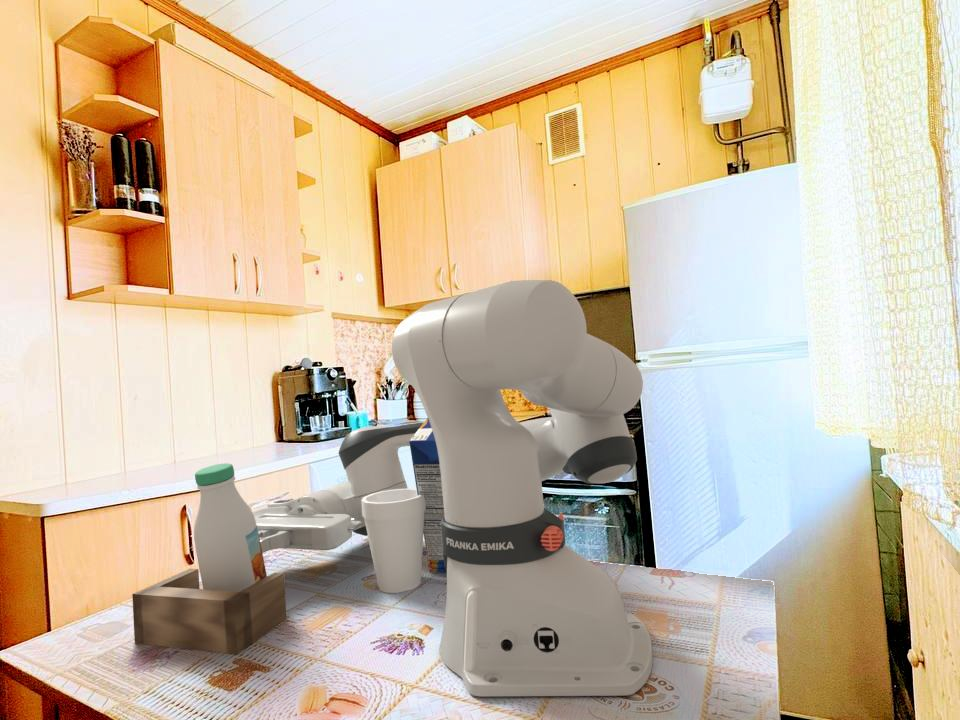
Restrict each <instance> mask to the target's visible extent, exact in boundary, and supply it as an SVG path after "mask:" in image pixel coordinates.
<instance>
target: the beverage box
mask: <svg viewBox="0 0 960 720" xmlns="http://www.w3.org/2000/svg"><path fill="white" fill-rule="evenodd" d="M422 423H423V424H422V426H421V427H420V428H419V429H418V431H417V432H416V433H415V435H414V436H413V437H412V438H411V440H410V441H409V443H410V446H409V447H410V449H409V450H410V454H411V462H412V467H413V473H414V480H415V487H416V488H415V489H417V495H424V499H425V505H426V510H425V511H424V532H423V541H424V546H425V550H426V551H425V552H426V558H427V559H426V560H427V565H428V571H429V573H432V574H447V568H446V567H445V565H444V558H443V552H442V542H441V533H442V531H441V519H442V517H443V516H444V505H443V494H442V483H441V473H440V464H439V456H438V450H437V446H436V441H435V437H434V434H433V431H432V428H431V425H430V422H429V419H428V417H427V418H426V419H425V420H424V422H422Z"/></svg>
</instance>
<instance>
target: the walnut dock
mask: <svg viewBox="0 0 960 720" xmlns="http://www.w3.org/2000/svg"><path fill="white" fill-rule="evenodd" d="M285 584H286V583H285V573H284V572H273V573H271V574H270V575H268V576H267V577H266V578H264V579H262V580H260V581H258V582H256V583H255V584H253V585H251V586H249V587H247V588H246V589H244V590H242V591H240V592H236V591H220V590H204V589H203V588H201V589H200V570H199V568H188V569H186V570H184V571H181V572H180V573H177V574H174V575H173V576H170V577H167V578H165V579H163V580H160V581H158V582H156V583H154V584H152V585H150V586H148V587H145V588H143V589H140V590H138V591H136V592H134V593H132V595H131V597H132V611H133V614H132V616H133V617H132V619H133V634H134V637H133V639H134V644H139V645H140V644H141V645H152V646H157V647H168V648H176V649H185V650H192V651H193V650H194V651H203V652H211V651H212V652H213V653H220V654H231V655H239V654H240V653H241V652H243V651H244V650H246V649H247V648H249V647H250V646H252V645H253V644H255V642H257V641H258V640H260V639H261V638H263V637H264V636H265V635H267V634H268V633H270V632H271V631H273V630H274V629H276V628H277V627H279V626H280V625H281V624H282V622H283V623H285V622H286V621H287V619H288V617H287V602H286V601H287V600H286V585H285ZM285 620H286V621H285ZM279 624H280V625H279Z"/></svg>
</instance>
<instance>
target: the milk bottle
mask: <svg viewBox="0 0 960 720" xmlns="http://www.w3.org/2000/svg"><path fill="white" fill-rule="evenodd" d="M194 477H195V483H196V485H197V487H196V488H197V490H199V493H200V499H199V505H198V510H197V514H196V517H195V520H194V526H193V539H194V546H195V554H196V558H197V563H198V570H199V576H200V578H201V583H202V589H204V590H220V591H236V592H240V591H242V590H244V589H246V588H247V587H249V586H251V585H253V584H255V583H256V582H258V581H260V580H262V579H264V578H266V577H267V571H266V565H265V560H264V555H263V554H264V553H262V548H261V543H260V538H259V533H258V529H257V525H256V521H255V518H254V515H253V513H252V512H253V511H252V509H251V508H250V506H249V504H248V503H247V502H246V501H245V500H244V498H243V497H242V495H241V494H240V493H239V491H238V488H237V487H236V485H235V480H236V477H235V469H234V466H233V464H232V463H228V462H227V463H218V464H217V463H216V464H213V465H209V466H206V467H203V468H201V469H199V470H197V471H196V472H195V474H194Z"/></svg>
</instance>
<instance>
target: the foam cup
mask: <svg viewBox="0 0 960 720" xmlns="http://www.w3.org/2000/svg"><path fill="white" fill-rule="evenodd" d="M361 503H362V517H364V520H365V525H366V530H367V535H368V536H367V539H368V544H369V549H370V552H371V553H370V554H371V559H372V563H373V568H374V575H375V578H376V583H377V585H378V587H377V588H378V590H379V591H380V592H383V593H388V594H394V593H396V594H399V593H403V592H409V591H411V590H413V589H415V588H417V587H418V586H420V585H421V584H422V575H423V574H422V570H423V568H422V567H423V549H424V534H423V532H424V511H425V510H426V505H425V499H424V495H417V488H408V489H394V490H387V491H381V492H377V493H373V494H370V495H368V496H365V497H363V499H362V500H361Z"/></svg>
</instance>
